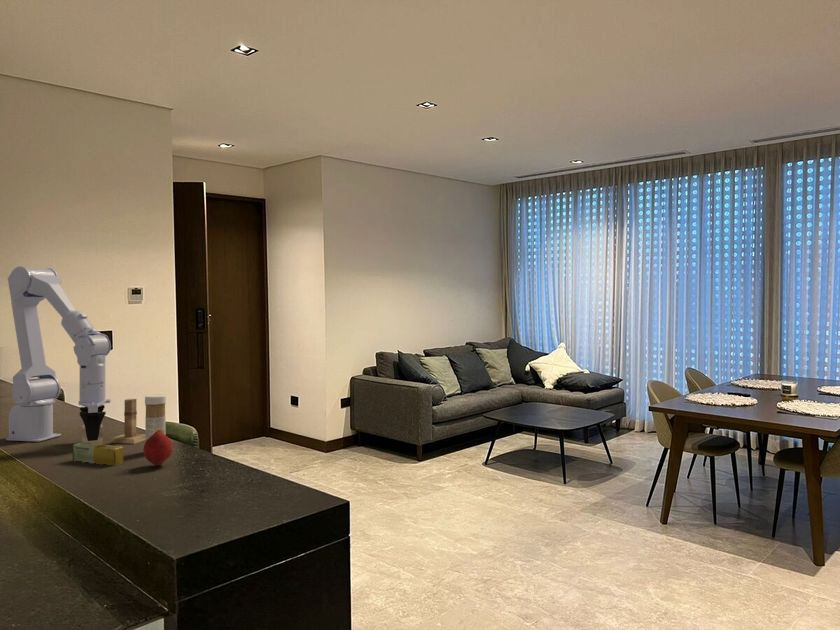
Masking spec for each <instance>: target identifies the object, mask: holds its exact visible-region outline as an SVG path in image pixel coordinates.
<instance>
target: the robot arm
mask: <svg viewBox="0 0 840 630" xmlns="http://www.w3.org/2000/svg"><path fill="white" fill-rule="evenodd" d="M7 282H8V283H7V284H8V289H9V295H10V302H11V309H12V315H13V322H14V328H15V334H16V335H15V336H16V341H17V347H18V353H19V360H20V367H21V369H20V370H18V371H17V372H16V374H14V375H13V376H12V388H11V389H12V390H11V394H12V395H11V396H12V398H13V401H14V402H15V403H16V404H15V405H13V406H12V407H11V409H10V411H9V414H8V437H7V438H6V441H15V442H18V441H19V442H36V443H37V442H43V441H46V440H50V439H54V438H57V437H61V435H62V433H54V426H53V425H54V404H53V403H56V400H57V399H58V398H59V396H60V394H61V387H62V386H61V384H60V382H59V380H58V378H57V374H56V371H55V370H54V369H53V368H51V367H50V366H49V365H47V363H46V357H45V350H44V344H43V338H42V331H41V326H40V321H39V320H40V319H39V312H38V305H39V304H40V303H41V302H42V301H44V300H45V299H46V301H48V303H49V304H50V305H51V306H52V307H53V309H55V311H56V312H57V313H58V314H59V315H60V317H61V320H60V321H61V322H60V324H61V326H62V328H63V329H64V331H65V332H66V333H67V335H68V336H69V337H70V339H71V340H72V342H73V343H74V345H73V352H74V354H75V356H76V360H77V364H78V366H79V400H78V406H79V410H80V412H79V416H80V418H81V420H82V422H83V426H84V425H85V430H86V435H87V439H88V441H95V440H98V437H99V431H100V426H101V424H102V422H103V419H104V418H105V416H106V414H107V412H106V411H104V410H105V405H106V404H110V403H111V402H112V401H111V399H110V398H106V356H108V355H109V354H110V352H111V349H112V345H111V341H110V338H109V336H108V335H106V334H104V333H101V332H100V331H98V330H97V329H96V328H95V327H94V325H93V324H92V323H91V321H90V320H89V319H88V315H87V314H86V313H84V312H83V311H79V310H76V309H75V307H74V305H73V304H72V302H71V300H70V299H69V296H67V294H66V292H65V290H64V289H63V287H62V278H61V277H60V276H59V275H58V273H57V271H56V270H55V269H54V268H39V267H26V266H21V265H20V266H19V265H18V266H17V267H16V266H15V268H13V270H12V271H11V273H10V274H9V275H8V277H7ZM80 406H81V407H80Z"/></svg>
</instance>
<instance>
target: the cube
mask: <svg viewBox="0 0 840 630" xmlns="http://www.w3.org/2000/svg"><path fill="white" fill-rule="evenodd" d="M81 429H82V430H81V431H82V432H81V442H83V443H93V444H102V445H104V426H103V424H102V423H101V426H100V431H99V437H98V440H95V441H88V439H87V435H86V430H85V425H84V424H83V425H82V427H81Z"/></svg>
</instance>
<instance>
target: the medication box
mask: <svg viewBox="0 0 840 630" xmlns="http://www.w3.org/2000/svg"><path fill="white" fill-rule="evenodd" d="M71 447H72V461H73V460H74V461H73V462H76V461H82V462H81V463H85V462H89V463H88V464H94V463H96V465H97V464H98V465H103V464H107V465H106V466H113V465H114V467H115V466H119V465H122V464H124V446H121V445H111V444H103V445H102V444H93V443H83V442H82V441H81V442H76V443H74V444H72V446H71Z"/></svg>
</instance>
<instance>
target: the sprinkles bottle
mask: <svg viewBox="0 0 840 630" xmlns="http://www.w3.org/2000/svg"><path fill="white" fill-rule="evenodd" d="M166 403H167V396H166V395H165V394H159V393H158V394H157V393H156V394H147V395H145V396H144V404H145V405H144V406H145V420H144V421H145V426H144V427H145V433H144V434H145V438H146V440H145V442H146V441H147V440H148V439H149V437H150V436H152V435H153V434H154V433H155V432H156V431H157V429H161V430H162V433H163V434H164V435H166V425H167V423H166Z"/></svg>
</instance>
